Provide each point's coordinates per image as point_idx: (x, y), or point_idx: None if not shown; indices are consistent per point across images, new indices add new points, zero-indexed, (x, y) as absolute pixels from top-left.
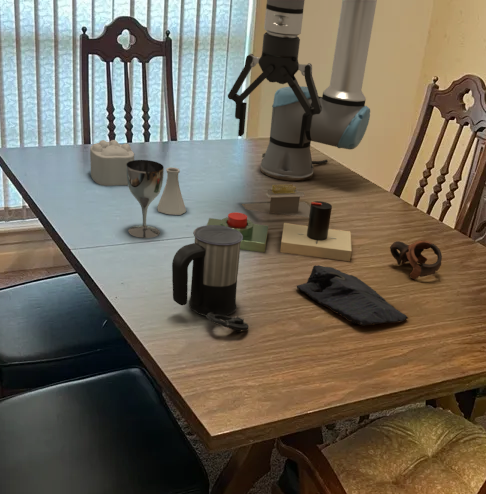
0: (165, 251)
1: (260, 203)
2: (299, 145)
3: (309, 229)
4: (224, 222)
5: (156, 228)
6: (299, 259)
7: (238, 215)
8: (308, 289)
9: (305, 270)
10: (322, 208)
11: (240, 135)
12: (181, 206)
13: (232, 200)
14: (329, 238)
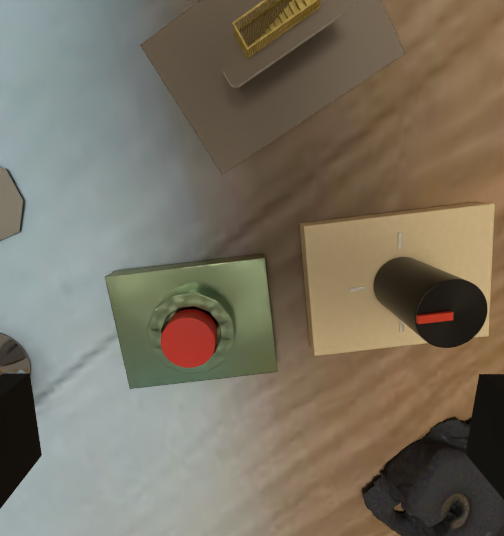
0: (80, 436)
1: (195, 6)
2: (474, 458)
3: (387, 308)
4: (159, 346)
5: (8, 338)
6: (355, 361)
7: (188, 339)
8: (390, 525)
9: (372, 407)
10: (454, 345)
11: (31, 460)
12: (2, 217)
13: (105, 23)
14: None
